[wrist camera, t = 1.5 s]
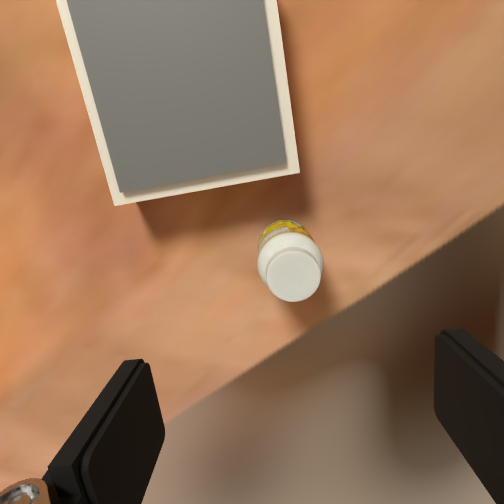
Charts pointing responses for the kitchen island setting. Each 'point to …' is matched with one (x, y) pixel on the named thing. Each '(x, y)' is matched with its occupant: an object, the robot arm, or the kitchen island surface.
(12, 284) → the kitchen island surface
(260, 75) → the plate
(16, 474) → the kitchen island surface
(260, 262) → the supplement bottle
